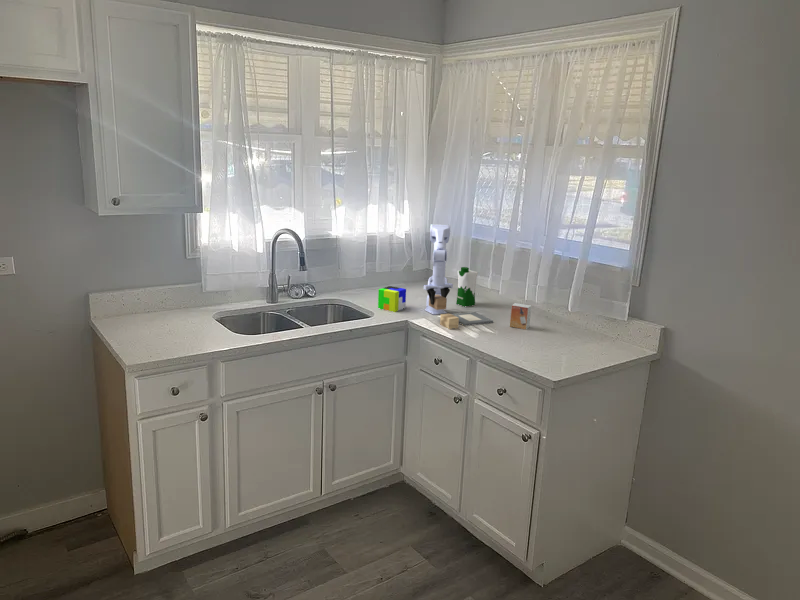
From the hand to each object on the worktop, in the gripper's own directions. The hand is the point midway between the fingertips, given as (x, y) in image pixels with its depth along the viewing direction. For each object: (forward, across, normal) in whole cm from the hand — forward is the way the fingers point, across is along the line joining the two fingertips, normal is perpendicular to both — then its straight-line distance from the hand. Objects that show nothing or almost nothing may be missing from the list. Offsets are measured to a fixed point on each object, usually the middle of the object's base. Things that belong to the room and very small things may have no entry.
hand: (437, 303), depth 287 cm
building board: (+8, +16, -4) cm, 18 cm away
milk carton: (+8, +29, +21) cm, 37 cm away
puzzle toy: (+9, -11, +27) cm, 30 cm away
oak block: (+8, +1, -10) cm, 13 cm away
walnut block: (+2, 0, 0) cm, 2 cm away
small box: (+8, +32, -22) cm, 40 cm away
